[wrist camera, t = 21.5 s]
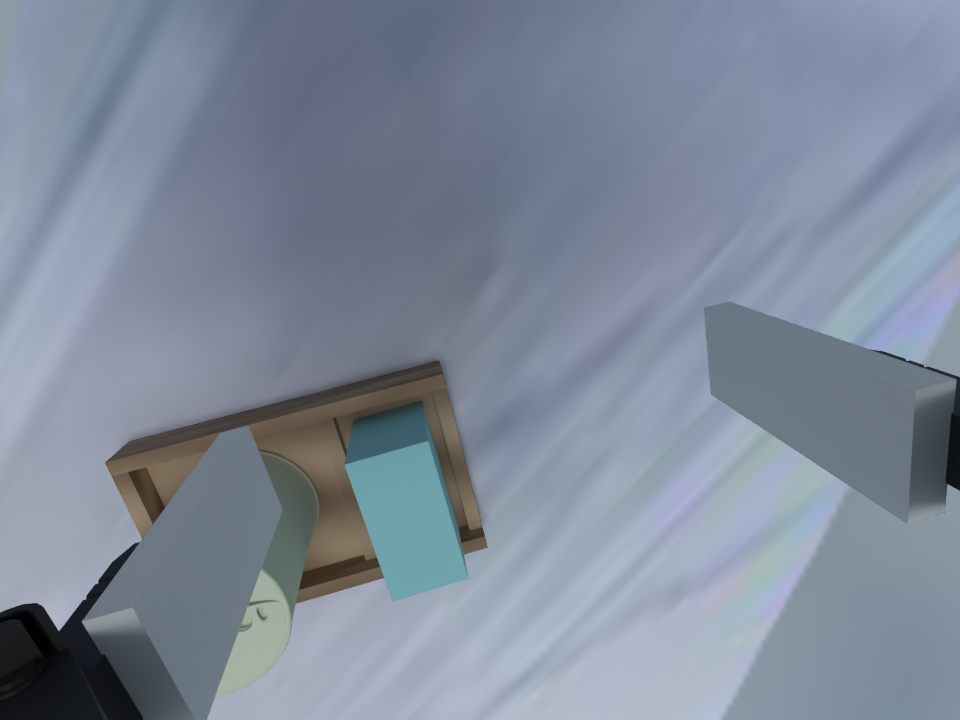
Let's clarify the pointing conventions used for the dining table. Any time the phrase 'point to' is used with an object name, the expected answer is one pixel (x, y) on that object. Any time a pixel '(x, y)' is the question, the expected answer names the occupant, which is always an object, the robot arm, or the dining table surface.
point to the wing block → (405, 500)
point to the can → (275, 578)
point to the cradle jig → (310, 467)
